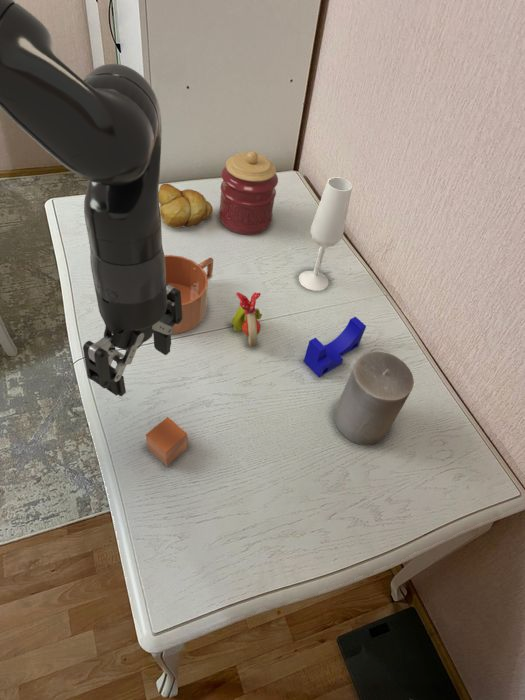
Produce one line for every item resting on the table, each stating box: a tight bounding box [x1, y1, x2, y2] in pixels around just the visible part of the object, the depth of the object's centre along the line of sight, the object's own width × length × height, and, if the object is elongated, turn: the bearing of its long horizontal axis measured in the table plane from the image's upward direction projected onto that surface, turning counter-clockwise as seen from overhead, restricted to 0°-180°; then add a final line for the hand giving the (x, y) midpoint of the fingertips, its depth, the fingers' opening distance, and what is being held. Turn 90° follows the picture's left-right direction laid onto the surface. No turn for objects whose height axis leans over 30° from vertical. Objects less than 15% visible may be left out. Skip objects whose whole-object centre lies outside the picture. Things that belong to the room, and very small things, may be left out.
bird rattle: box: [230, 292, 263, 347], centre depth 95 cm, size 6×11×9 cm
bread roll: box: [158, 183, 214, 228], centre depth 117 cm, size 13×10×8 cm
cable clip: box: [303, 316, 367, 378], centre depth 96 cm, size 12×4×6 cm, turn 128°
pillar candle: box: [333, 350, 415, 446], centre depth 83 cm, size 10×10×15 cm
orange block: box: [145, 416, 188, 467], centre depth 79 cm, size 4×4×4 cm
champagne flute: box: [298, 176, 353, 292], centre depth 103 cm, size 7×7×24 cm
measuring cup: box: [164, 254, 214, 335], centre depth 99 cm, size 19×14×8 cm
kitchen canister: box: [218, 150, 279, 236], centre depth 117 cm, size 13×13×18 cm
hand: (140, 370), depth 66 cm, fingers open, 8 cm apart
